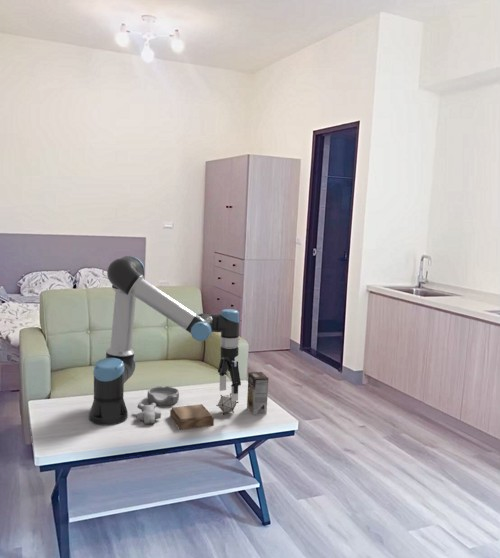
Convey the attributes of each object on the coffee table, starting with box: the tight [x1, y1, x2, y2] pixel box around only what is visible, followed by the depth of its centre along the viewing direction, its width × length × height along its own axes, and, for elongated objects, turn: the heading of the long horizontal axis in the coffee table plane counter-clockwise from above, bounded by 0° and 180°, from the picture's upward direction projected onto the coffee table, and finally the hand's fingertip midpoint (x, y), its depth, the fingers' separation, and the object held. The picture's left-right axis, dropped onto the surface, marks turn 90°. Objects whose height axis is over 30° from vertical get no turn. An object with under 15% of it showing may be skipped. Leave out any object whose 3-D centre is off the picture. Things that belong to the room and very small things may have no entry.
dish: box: [146, 385, 180, 406], centre depth 240 cm, size 14×14×5 cm
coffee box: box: [246, 371, 269, 416], centre depth 232 cm, size 9×6×16 cm
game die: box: [215, 392, 239, 415], centre depth 229 cm, size 9×8×10 cm
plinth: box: [169, 403, 215, 430], centre depth 219 cm, size 14×14×4 cm
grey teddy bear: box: [136, 403, 162, 425], centre depth 220 cm, size 10×5×15 cm
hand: (228, 395), depth 229 cm, fingers open, 13 cm apart
